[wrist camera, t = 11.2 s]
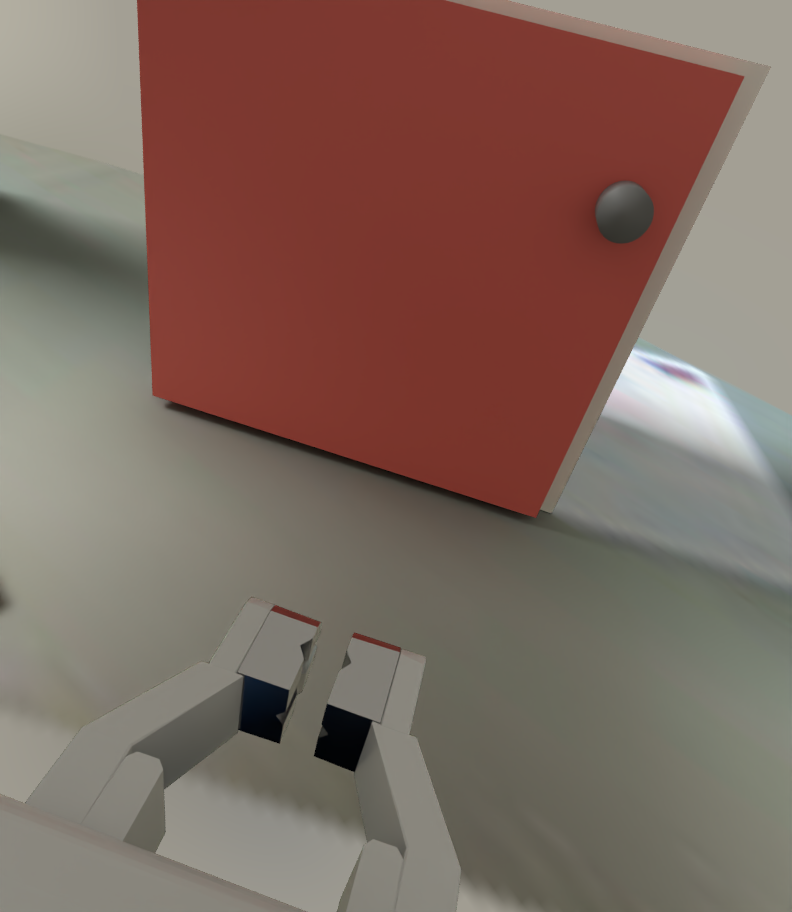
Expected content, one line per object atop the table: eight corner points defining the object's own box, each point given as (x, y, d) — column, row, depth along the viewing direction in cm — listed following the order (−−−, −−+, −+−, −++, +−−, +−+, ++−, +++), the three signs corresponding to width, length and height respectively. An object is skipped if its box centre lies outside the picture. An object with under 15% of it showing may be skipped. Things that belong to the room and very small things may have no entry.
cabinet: (168, 391, 32) (158, -88, 21) (271, 310, 44) (301, -27, 32) (551, 513, 30) (771, 67, 19) (553, 396, 42) (691, 73, 30)
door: (134, 409, 29) (103, -91, 18) (163, 387, 31) (150, -73, 21) (534, 538, 28) (759, 75, 17) (536, 506, 30) (736, 76, 19)
